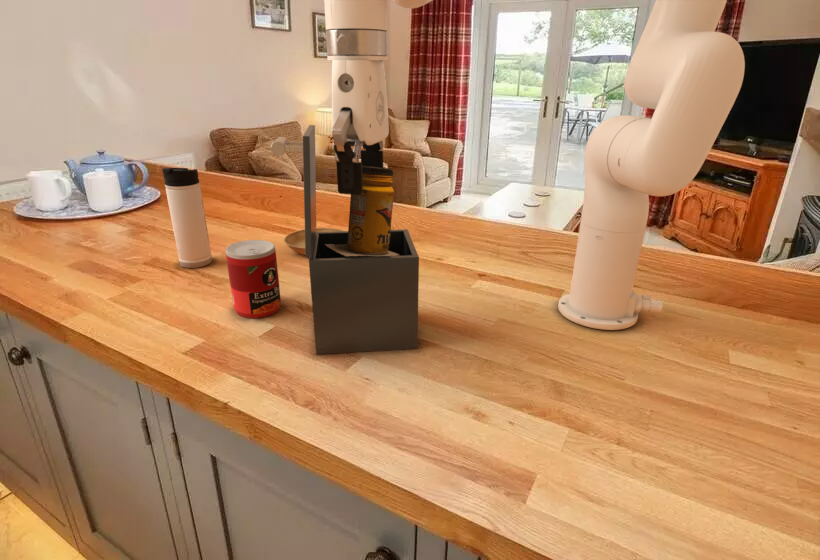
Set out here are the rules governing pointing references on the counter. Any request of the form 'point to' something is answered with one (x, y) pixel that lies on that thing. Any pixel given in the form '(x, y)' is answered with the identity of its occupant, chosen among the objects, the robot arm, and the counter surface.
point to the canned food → (253, 278)
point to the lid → (309, 170)
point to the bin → (364, 296)
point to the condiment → (370, 216)
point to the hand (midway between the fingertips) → (362, 185)
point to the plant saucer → (302, 239)
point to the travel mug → (187, 216)
